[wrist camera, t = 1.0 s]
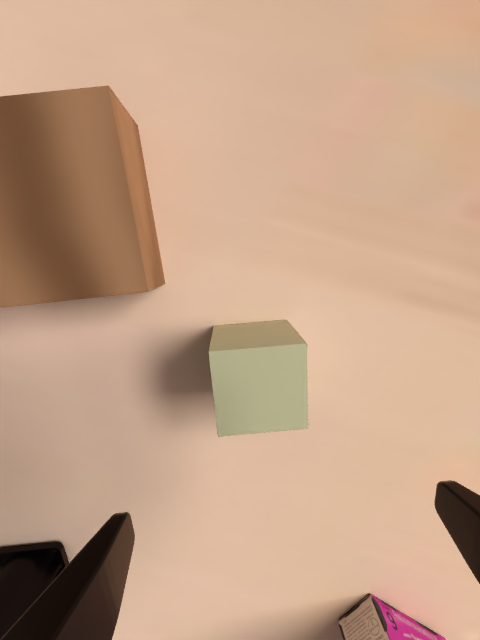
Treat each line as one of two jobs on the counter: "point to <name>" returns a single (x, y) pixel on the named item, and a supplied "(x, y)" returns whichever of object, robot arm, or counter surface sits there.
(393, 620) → the candy bar box
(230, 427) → the green cube
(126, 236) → the walnut block
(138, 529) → the counter surface
